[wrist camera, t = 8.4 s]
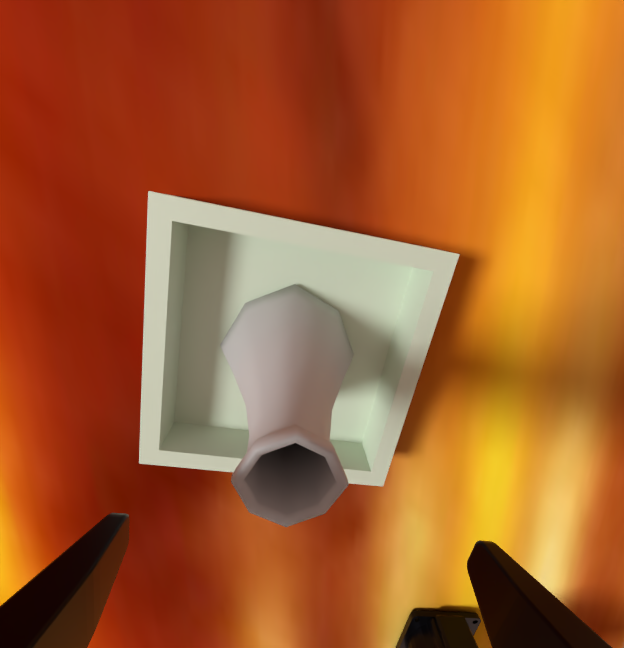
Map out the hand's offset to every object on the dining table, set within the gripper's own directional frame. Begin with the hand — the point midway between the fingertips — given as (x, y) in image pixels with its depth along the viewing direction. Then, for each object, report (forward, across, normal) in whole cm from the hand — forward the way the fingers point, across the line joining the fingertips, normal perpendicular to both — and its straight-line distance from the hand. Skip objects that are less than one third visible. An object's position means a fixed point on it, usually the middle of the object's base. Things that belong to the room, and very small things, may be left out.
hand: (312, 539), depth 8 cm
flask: (+12, +1, 0) cm, 12 cm away
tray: (+12, +1, 0) cm, 12 cm away
